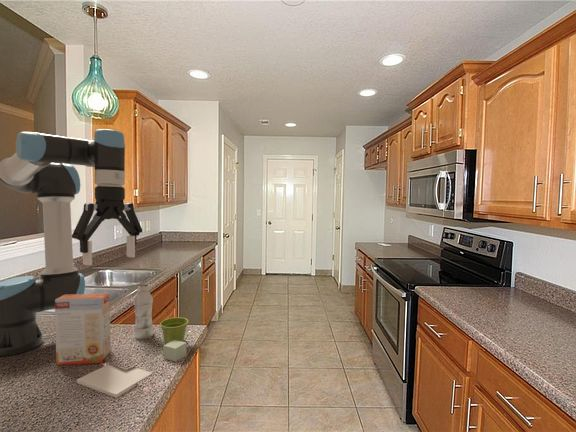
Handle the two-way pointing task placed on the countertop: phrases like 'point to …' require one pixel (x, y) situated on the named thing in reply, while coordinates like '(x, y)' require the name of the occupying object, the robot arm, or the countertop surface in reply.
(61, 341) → the cracker box
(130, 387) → the board
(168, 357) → the sage block
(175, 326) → the plant pot
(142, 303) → the plastic bottle
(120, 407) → the countertop surface
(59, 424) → the countertop surface
